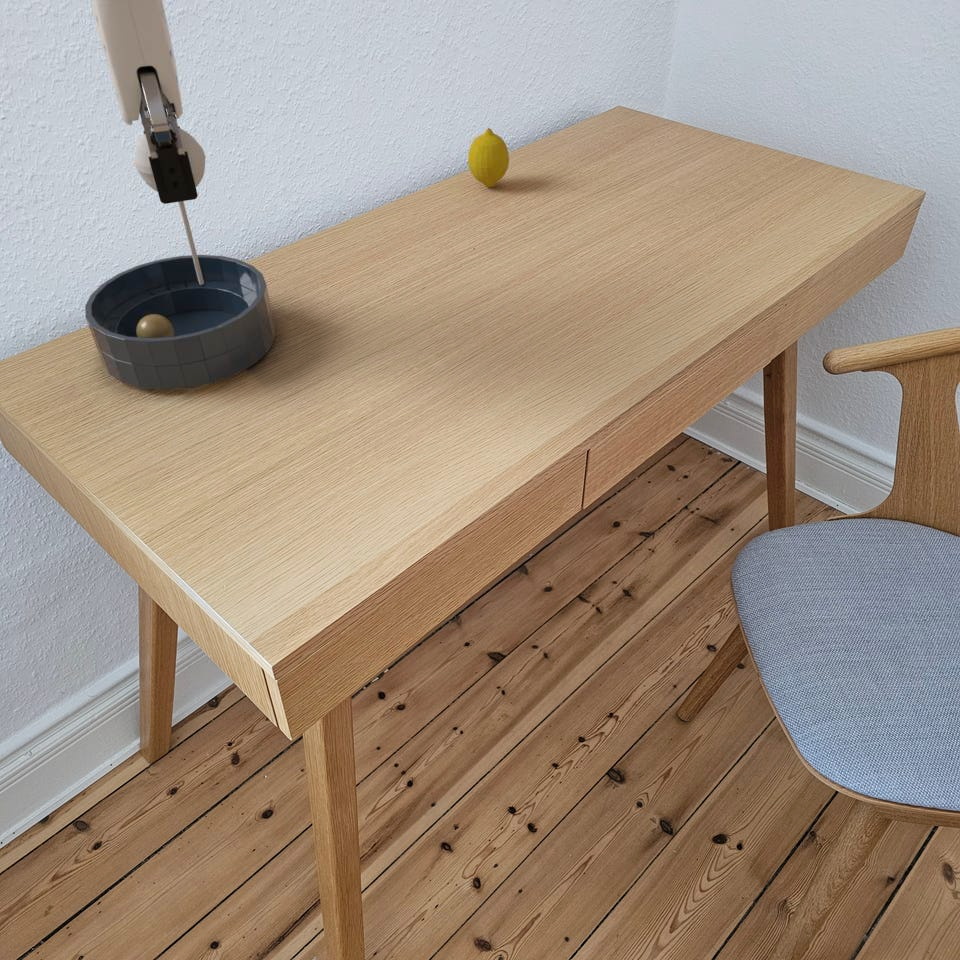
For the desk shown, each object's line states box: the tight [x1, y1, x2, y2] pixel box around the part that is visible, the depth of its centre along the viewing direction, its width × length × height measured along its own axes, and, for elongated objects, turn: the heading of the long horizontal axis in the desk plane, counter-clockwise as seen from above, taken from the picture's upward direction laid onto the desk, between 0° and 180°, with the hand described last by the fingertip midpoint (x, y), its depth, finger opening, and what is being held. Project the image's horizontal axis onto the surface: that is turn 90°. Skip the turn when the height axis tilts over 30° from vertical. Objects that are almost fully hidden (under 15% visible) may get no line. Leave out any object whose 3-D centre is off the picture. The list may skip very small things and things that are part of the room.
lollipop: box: [133, 125, 206, 285], centre depth 79 cm, size 6×6×15 cm
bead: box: [136, 314, 174, 338], centre depth 85 cm, size 4×4×4 cm
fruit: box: [467, 127, 510, 188], centre depth 115 cm, size 6×6×8 cm
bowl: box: [84, 254, 277, 391], centre depth 86 cm, size 17×17×6 cm
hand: (175, 184), depth 77 cm, fingers closed on lollipop, 6 cm apart
